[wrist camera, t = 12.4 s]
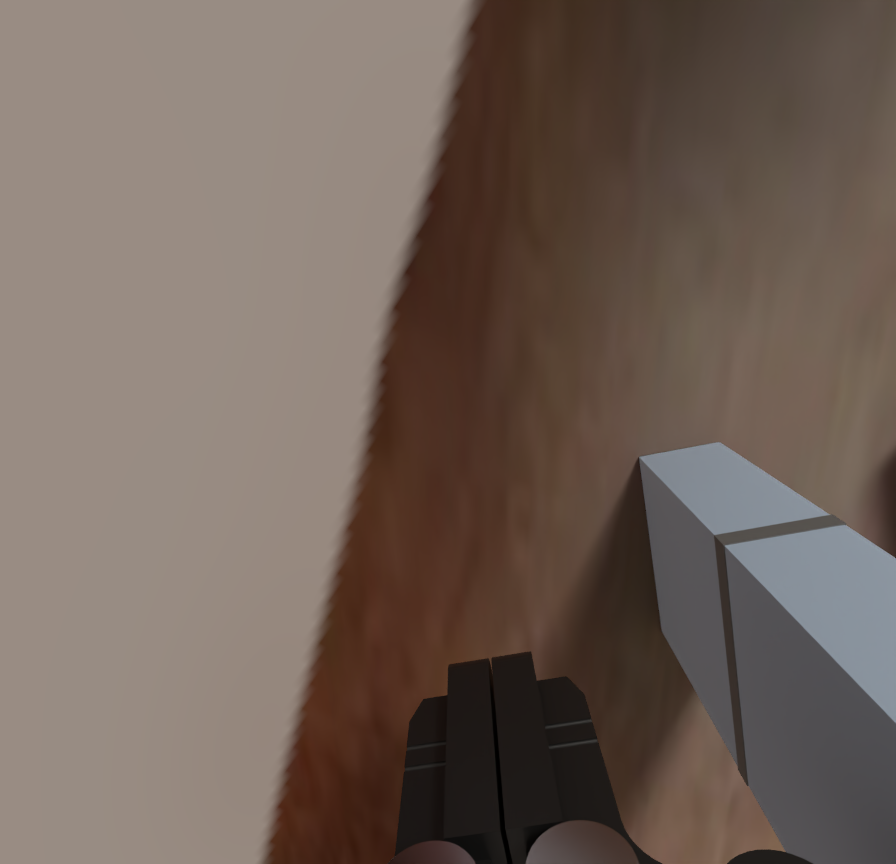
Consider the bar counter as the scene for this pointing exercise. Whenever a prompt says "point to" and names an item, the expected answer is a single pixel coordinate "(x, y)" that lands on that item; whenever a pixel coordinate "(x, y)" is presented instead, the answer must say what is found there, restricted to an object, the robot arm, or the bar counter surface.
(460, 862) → the robot arm
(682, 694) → the bar counter surface
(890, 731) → the domino
